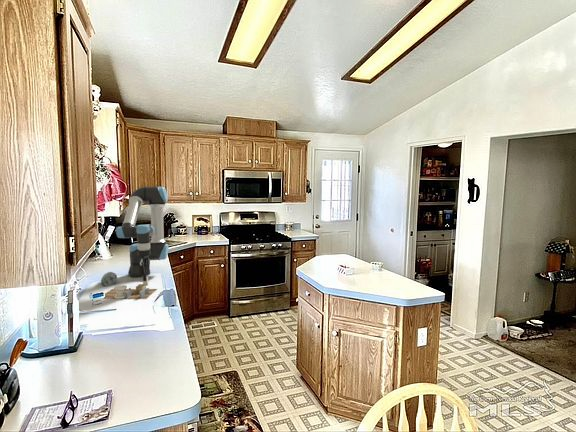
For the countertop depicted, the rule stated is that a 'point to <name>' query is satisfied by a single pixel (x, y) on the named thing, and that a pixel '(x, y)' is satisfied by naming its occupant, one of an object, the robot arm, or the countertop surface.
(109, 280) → the spool
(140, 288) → the tab
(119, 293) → the bobbin
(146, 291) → the notch block
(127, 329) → the countertop surface
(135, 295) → the board
